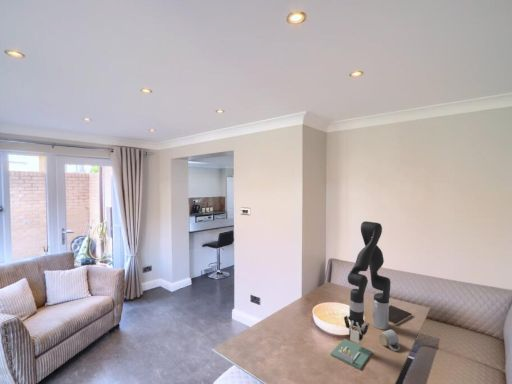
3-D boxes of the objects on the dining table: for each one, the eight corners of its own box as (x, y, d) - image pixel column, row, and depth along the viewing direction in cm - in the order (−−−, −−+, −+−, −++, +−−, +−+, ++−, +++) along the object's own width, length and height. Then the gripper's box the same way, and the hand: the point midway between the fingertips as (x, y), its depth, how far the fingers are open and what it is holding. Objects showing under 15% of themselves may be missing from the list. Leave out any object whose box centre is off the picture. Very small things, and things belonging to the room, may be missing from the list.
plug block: (353, 336, 149) (353, 325, 149) (361, 339, 146) (361, 328, 146) (350, 339, 145) (350, 329, 145) (358, 343, 142) (358, 332, 142)
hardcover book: (412, 317, 183) (412, 313, 183) (395, 326, 170) (395, 323, 170) (390, 307, 196) (390, 304, 196) (372, 316, 183) (372, 313, 183)
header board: (344, 340, 153) (344, 329, 153) (372, 352, 143) (372, 341, 142) (330, 355, 140) (330, 343, 140) (359, 369, 129) (360, 357, 129)
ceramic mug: (377, 342, 152) (378, 329, 152) (387, 339, 155) (388, 326, 155) (392, 353, 142) (393, 340, 142) (403, 350, 145) (404, 337, 145)
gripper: (372, 310, 143) (371, 340, 143) (347, 302, 153) (346, 330, 153) (367, 315, 137) (366, 346, 138) (341, 306, 147) (340, 335, 148)
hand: (355, 337), depth 145 cm, fingers closed on plug block, 4 cm apart
